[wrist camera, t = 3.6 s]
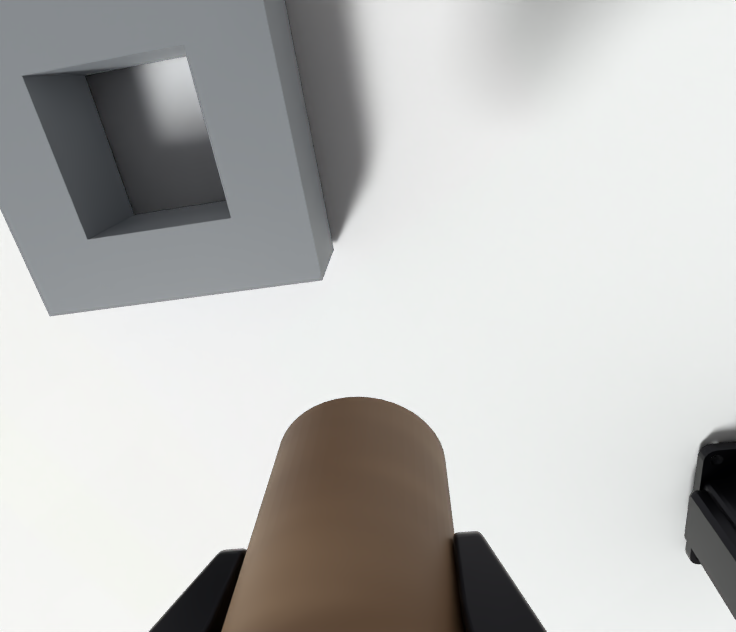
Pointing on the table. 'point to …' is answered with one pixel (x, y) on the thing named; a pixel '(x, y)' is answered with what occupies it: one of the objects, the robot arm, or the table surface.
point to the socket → (99, 170)
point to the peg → (352, 528)
